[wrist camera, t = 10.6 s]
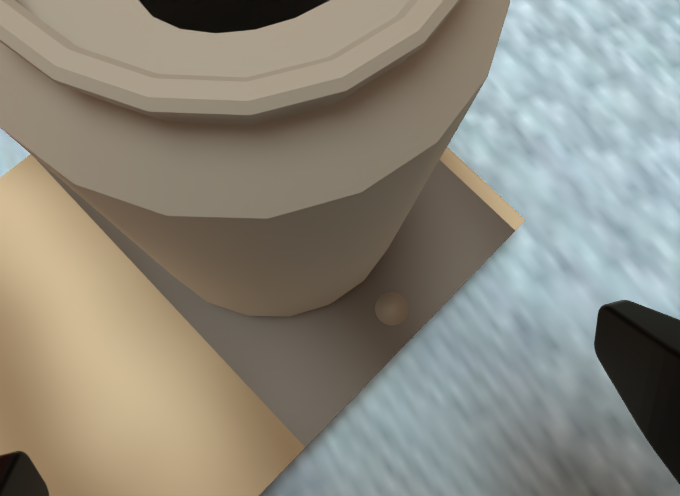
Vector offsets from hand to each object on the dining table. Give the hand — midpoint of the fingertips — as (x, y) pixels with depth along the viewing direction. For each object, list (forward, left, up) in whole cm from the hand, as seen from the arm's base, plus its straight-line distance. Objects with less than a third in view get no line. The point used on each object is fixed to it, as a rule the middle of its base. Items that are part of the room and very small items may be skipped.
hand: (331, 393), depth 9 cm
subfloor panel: (-1, +5, -9) cm, 11 cm away
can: (+3, +5, -8) cm, 10 cm away
